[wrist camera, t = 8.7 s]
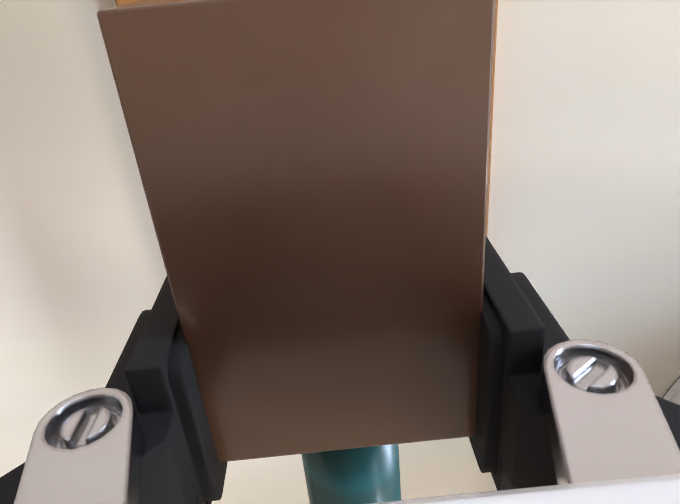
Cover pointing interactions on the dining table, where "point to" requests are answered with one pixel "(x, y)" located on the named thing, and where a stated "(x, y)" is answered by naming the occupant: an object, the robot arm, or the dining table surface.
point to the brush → (318, 217)
